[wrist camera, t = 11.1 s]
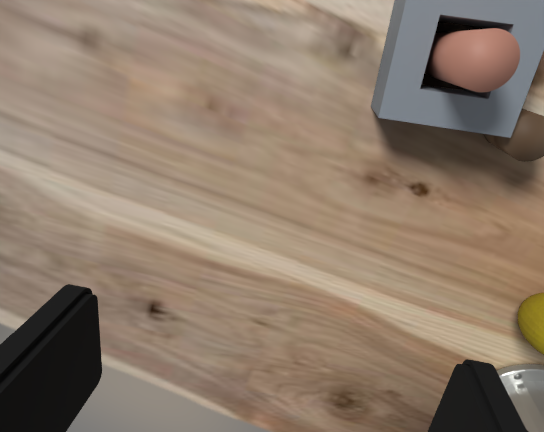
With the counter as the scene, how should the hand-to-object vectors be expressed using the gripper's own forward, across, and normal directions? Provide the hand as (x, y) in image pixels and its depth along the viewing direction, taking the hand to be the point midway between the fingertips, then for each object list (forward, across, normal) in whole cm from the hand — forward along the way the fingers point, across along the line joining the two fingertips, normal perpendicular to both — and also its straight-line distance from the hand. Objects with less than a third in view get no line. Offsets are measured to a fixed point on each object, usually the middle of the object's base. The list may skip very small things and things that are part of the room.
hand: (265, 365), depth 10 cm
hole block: (+30, -10, -8) cm, 33 cm away
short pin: (+30, -17, -3) cm, 35 cm away
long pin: (+30, -10, -8) cm, 33 cm away
